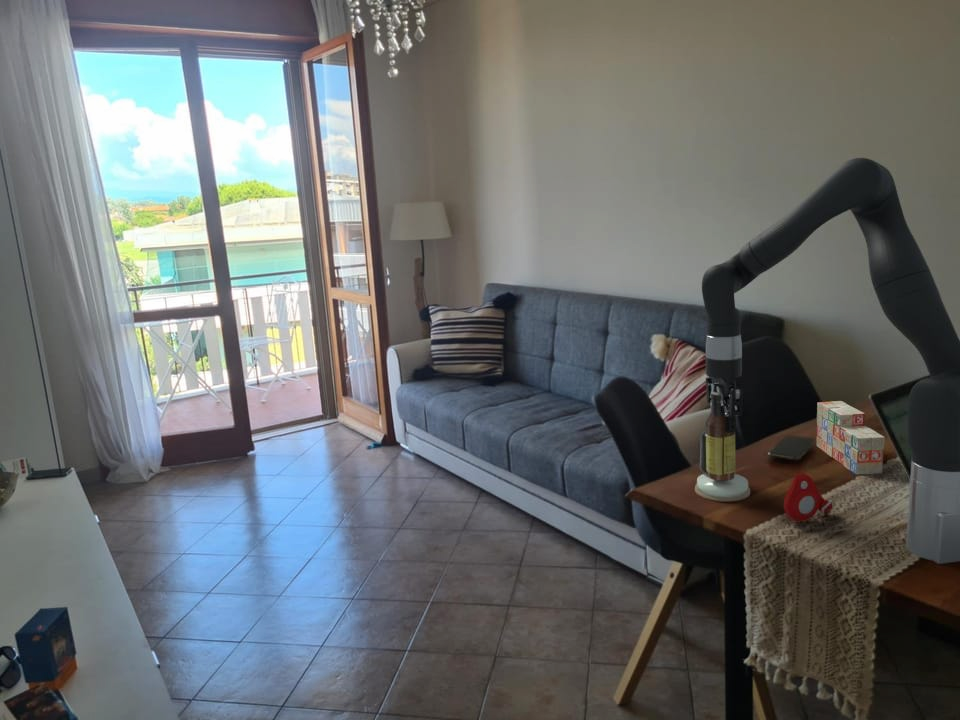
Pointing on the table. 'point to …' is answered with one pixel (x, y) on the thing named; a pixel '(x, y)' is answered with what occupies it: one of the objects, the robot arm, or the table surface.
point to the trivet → (722, 488)
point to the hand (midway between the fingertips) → (723, 427)
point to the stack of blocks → (849, 438)
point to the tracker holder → (805, 499)
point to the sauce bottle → (719, 444)
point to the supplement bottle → (703, 452)
